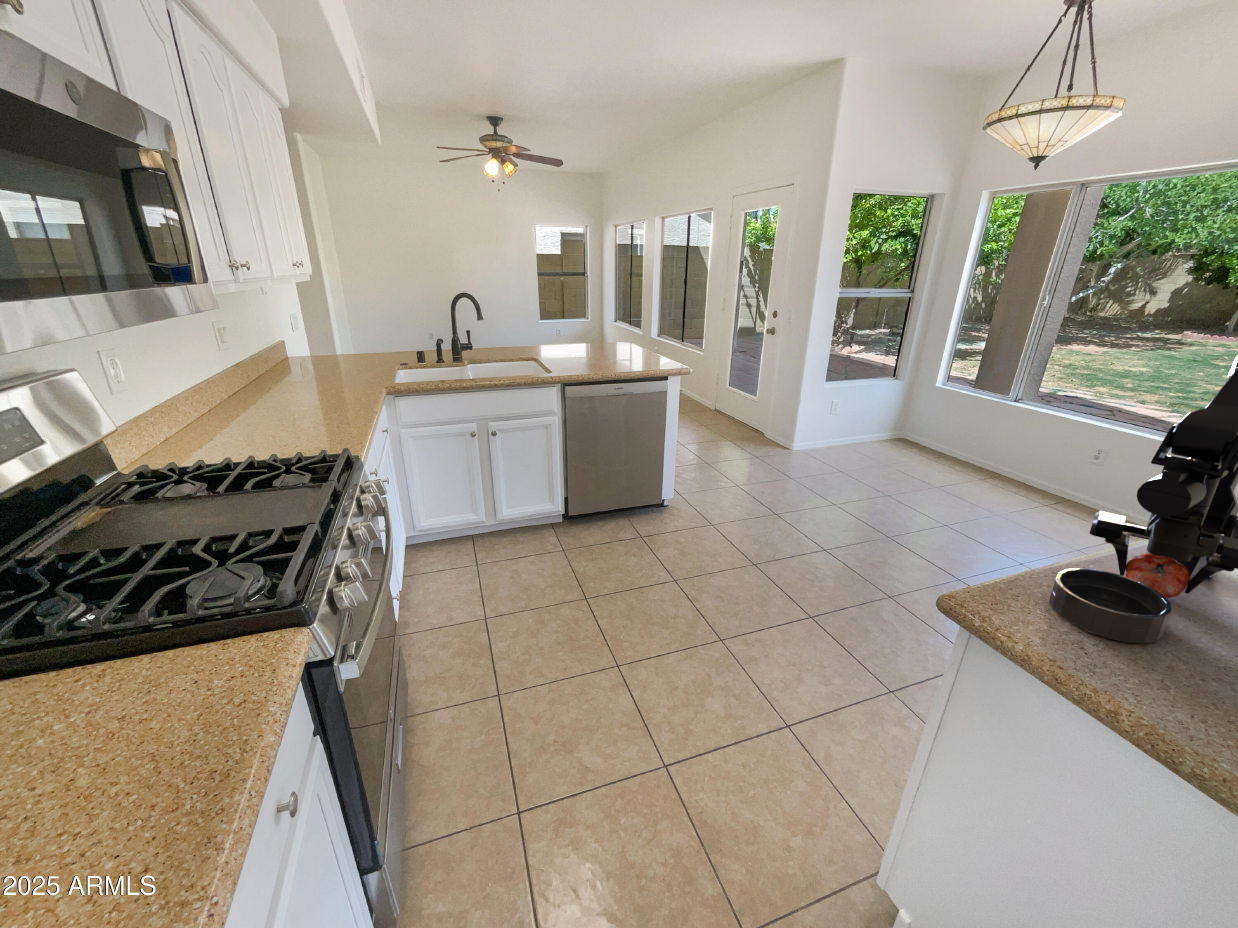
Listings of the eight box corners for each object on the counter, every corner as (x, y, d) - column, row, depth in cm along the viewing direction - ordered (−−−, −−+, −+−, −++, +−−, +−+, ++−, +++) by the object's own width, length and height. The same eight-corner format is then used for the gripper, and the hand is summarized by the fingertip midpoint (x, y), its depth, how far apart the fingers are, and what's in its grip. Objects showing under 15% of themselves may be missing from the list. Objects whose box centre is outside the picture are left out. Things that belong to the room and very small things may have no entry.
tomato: (1117, 586, 92) (1111, 572, 86) (1143, 553, 91) (1138, 536, 85) (1172, 612, 86) (1170, 598, 80) (1200, 576, 85) (1199, 560, 79)
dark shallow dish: (1055, 584, 90) (1062, 559, 88) (1162, 615, 81) (1172, 588, 79) (1042, 619, 81) (1050, 592, 79) (1160, 658, 72) (1171, 629, 70)
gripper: (1099, 500, 82) (1074, 583, 87) (1283, 536, 69) (1241, 630, 74) (1105, 479, 89) (1082, 557, 94) (1273, 508, 76) (1235, 597, 82)
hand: (1152, 583), depth 86 cm, fingers closed on tomato, 7 cm apart
